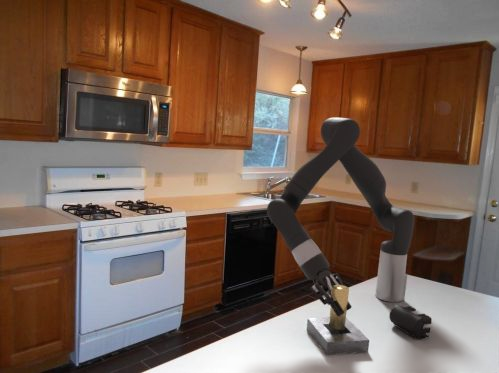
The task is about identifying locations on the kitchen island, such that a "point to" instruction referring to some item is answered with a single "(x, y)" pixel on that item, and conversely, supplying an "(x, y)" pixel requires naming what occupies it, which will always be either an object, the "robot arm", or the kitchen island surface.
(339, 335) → the jig
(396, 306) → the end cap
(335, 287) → the gold cylinder
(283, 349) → the kitchen island surface
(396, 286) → the robot arm
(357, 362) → the kitchen island surface
